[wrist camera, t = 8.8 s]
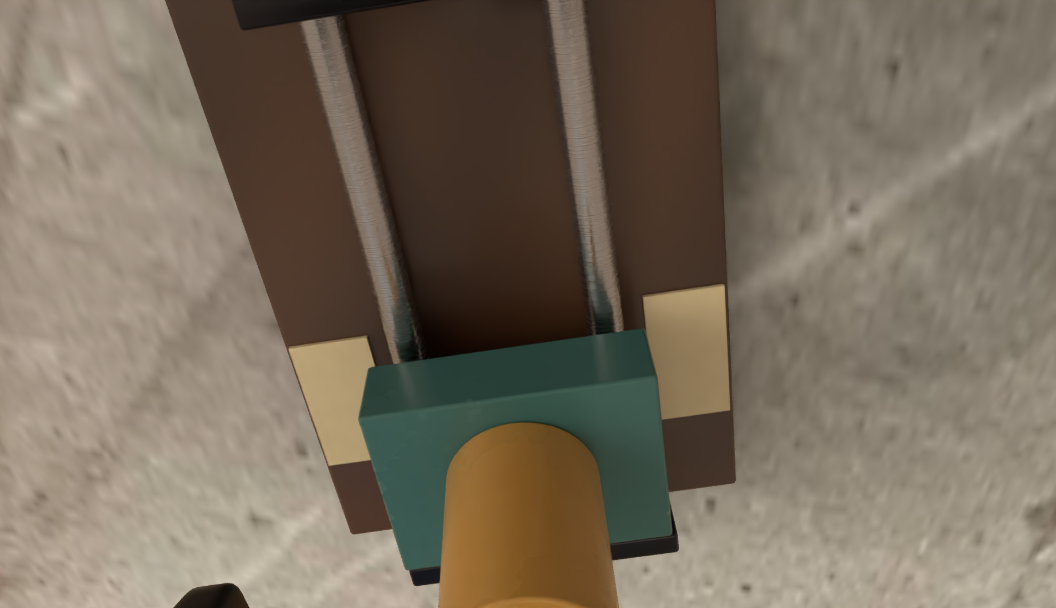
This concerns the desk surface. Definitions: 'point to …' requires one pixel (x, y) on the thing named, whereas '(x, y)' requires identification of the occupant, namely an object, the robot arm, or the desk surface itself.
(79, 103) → the desk surface
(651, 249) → the rail
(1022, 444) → the desk surface
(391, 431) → the teal slider with knob
